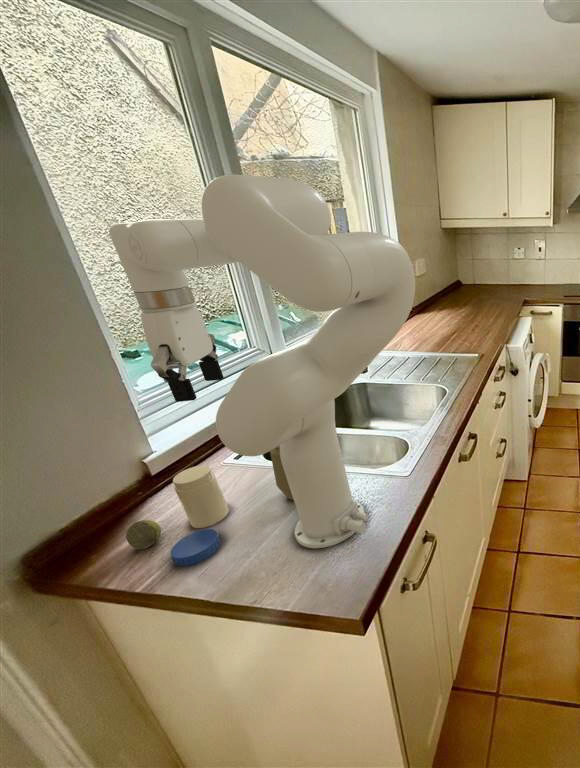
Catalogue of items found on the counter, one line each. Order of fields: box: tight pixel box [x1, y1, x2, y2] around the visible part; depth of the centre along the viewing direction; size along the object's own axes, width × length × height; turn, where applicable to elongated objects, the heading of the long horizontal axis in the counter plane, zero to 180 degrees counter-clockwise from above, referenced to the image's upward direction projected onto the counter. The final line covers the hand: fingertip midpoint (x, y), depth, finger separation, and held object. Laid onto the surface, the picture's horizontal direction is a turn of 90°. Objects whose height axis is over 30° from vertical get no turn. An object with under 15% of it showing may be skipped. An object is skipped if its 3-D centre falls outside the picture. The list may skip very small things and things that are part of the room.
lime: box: [125, 519, 162, 550], centre depth 73 cm, size 4×5×5 cm
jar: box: [172, 465, 230, 529], centre depth 78 cm, size 6×6×11 cm
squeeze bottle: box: [269, 445, 294, 501], centre depth 83 cm, size 8×8×18 cm
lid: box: [170, 528, 222, 567], centre depth 71 cm, size 7×7×2 cm
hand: (201, 389), depth 74 cm, fingers open, 9 cm apart
